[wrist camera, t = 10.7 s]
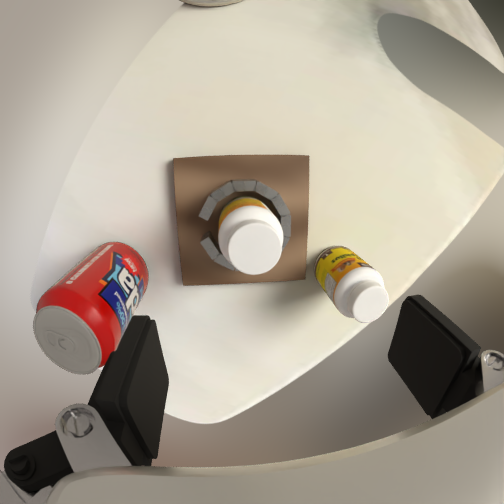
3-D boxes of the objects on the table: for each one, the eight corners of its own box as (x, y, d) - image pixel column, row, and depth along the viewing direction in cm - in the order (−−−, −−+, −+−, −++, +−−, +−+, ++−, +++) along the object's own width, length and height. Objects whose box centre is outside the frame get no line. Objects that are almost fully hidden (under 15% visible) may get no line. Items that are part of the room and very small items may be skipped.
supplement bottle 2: (356, 244, 33) (401, 276, 23) (350, 285, 35) (388, 327, 25) (314, 243, 32) (350, 279, 23) (310, 287, 34) (339, 333, 25)
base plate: (175, 158, 28) (173, 158, 27) (306, 155, 29) (309, 155, 28) (184, 281, 32) (183, 285, 31) (302, 275, 34) (305, 279, 32)
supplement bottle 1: (208, 223, 29) (201, 254, 20) (242, 184, 28) (252, 197, 19) (246, 255, 31) (257, 297, 22) (280, 218, 30) (306, 246, 21)
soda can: (93, 233, 29) (20, 287, 15) (154, 246, 31) (107, 315, 16) (91, 291, 32) (35, 364, 17) (147, 305, 33) (111, 391, 19)
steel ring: (198, 180, 28) (196, 182, 25) (286, 178, 28) (291, 180, 26) (203, 264, 31) (202, 272, 28) (284, 260, 31) (289, 268, 29)
